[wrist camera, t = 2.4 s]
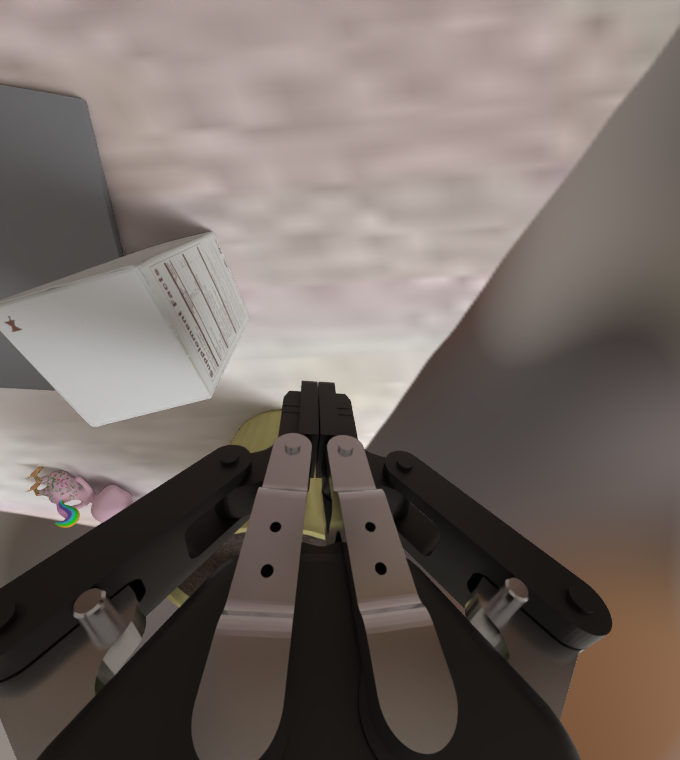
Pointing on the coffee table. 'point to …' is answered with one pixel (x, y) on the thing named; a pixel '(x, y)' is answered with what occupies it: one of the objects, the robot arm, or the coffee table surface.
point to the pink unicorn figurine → (80, 496)
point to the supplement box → (133, 329)
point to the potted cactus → (254, 438)
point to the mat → (48, 205)
